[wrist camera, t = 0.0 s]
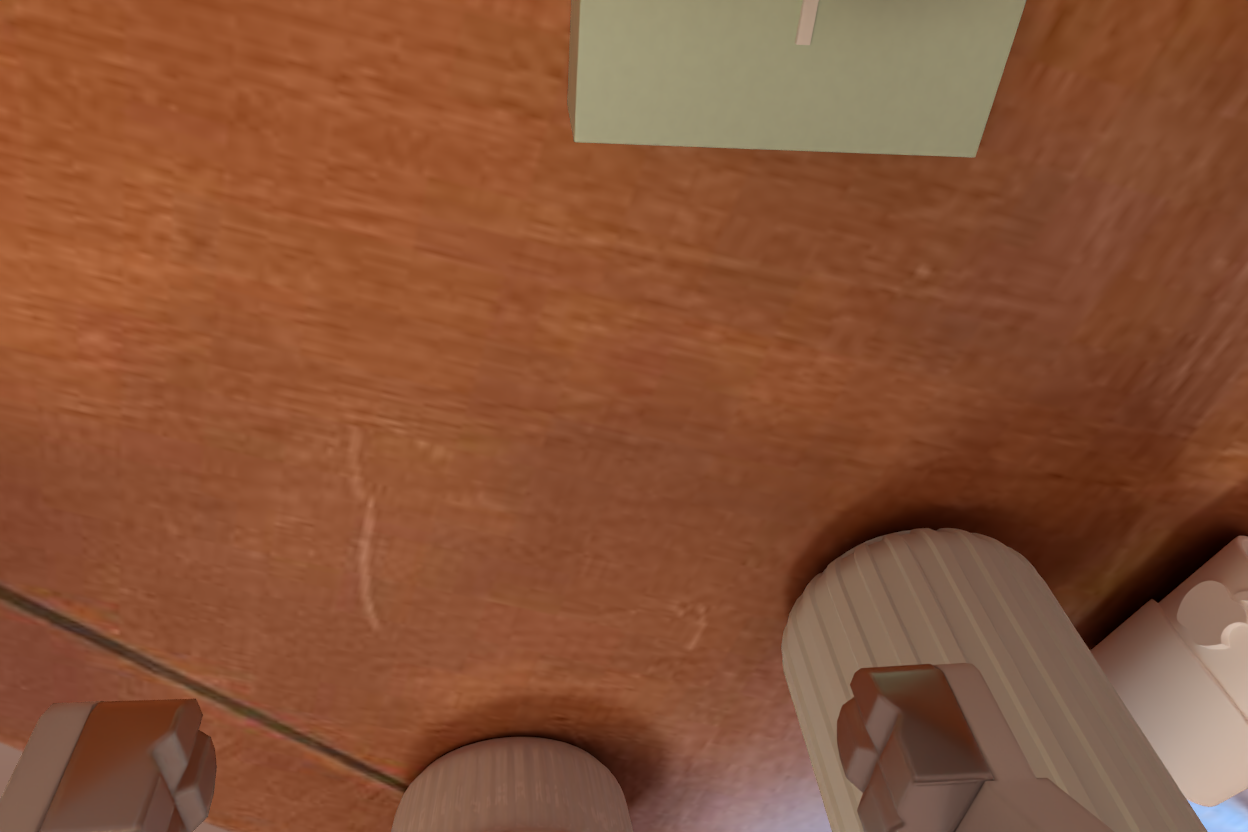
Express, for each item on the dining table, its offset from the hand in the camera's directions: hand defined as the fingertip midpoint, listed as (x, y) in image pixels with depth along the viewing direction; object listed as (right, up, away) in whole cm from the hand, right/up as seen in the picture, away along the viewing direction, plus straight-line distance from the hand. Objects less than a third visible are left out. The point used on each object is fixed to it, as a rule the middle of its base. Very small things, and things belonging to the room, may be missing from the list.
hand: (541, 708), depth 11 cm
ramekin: (-5, -16, +35) cm, 39 cm away
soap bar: (+29, -6, +32) cm, 43 cm away
